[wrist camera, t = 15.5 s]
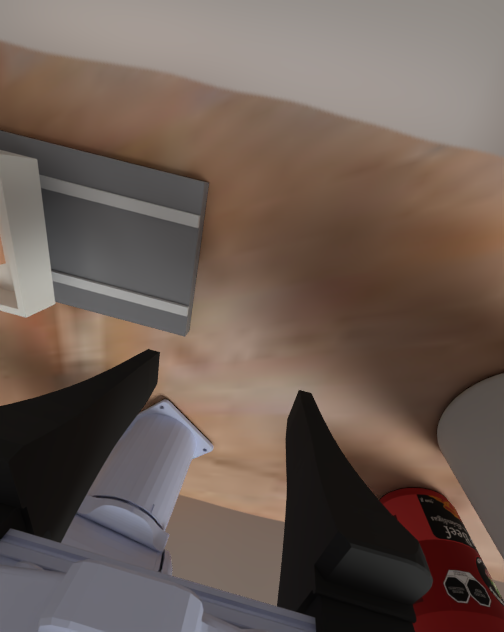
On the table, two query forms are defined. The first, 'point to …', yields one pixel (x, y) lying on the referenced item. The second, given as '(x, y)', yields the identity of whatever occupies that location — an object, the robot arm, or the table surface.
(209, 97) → the table surface
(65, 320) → the table surface
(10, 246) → the white shallow tray
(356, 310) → the table surface
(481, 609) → the canned food
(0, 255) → the block
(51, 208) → the track
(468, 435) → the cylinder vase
